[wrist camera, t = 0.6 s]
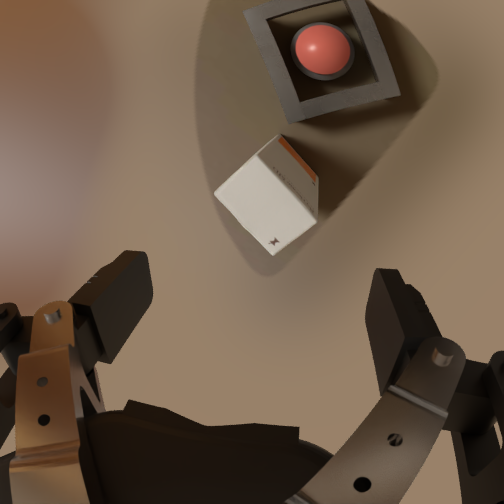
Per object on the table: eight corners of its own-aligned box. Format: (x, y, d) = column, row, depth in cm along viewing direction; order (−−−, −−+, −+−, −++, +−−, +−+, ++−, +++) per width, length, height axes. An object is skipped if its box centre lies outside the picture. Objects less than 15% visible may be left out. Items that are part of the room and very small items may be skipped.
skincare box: (320, 176, 30) (321, 224, 20) (288, 201, 32) (272, 259, 22) (279, 130, 29) (256, 152, 18) (248, 158, 31) (210, 195, 20)
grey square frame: (350, -7, 20) (354, -20, 17) (390, 94, 25) (401, 95, 21) (251, 20, 24) (242, 11, 20) (292, 120, 28) (288, 124, 25)
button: (340, 17, 21) (341, 13, 20) (362, 71, 23) (365, 70, 22) (281, 33, 23) (280, 30, 21) (303, 87, 25) (303, 87, 24)
